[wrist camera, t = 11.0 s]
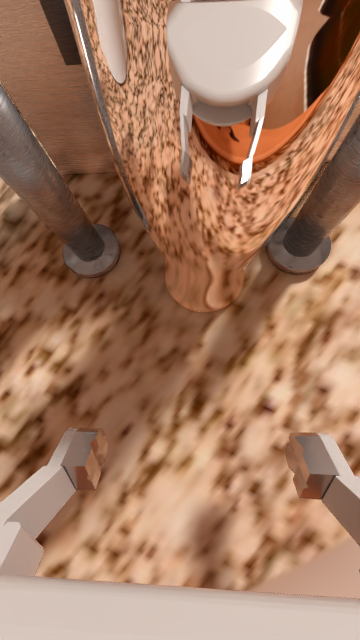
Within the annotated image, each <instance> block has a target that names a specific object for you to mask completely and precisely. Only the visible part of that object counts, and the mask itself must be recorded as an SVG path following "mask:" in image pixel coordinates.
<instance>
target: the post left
mask: <svg viewBox="0 0 360 640" xmlns="http://www.w3.org/2000/svg"><path fill="white" fill-rule="evenodd" d="M0 177H1V178H2V179H3V180H4V181H5V182H6V183H7V184H8V185H9V186H10V187H11V188H12V190H13V191H14V192H15V193H16V194H17V195H18V196H19V197H20V198H21V199H22V200H23V201H24V202H25V203H26V204H27V205H28V206H29V207H30V208H31V209H32V210H33V211H34V212H35V213H36V215H37V216H38V217H39V218H40V219H41V220H42V221H43V222H44V223H45V224H46V225H47V226H48V227H49V228H50V229H51V230H52V231H53V232H54V233H55V234H56V235H57V236H58V237H59V239H60V240H61V241H62V242H63V243H64V247H63V258H64V261H65V263H66V264H67V265H68V267H69V268H71V269H72V270H73V271H74V272H75V273H76V274H78V275H80V276H82V277H85V278H97V277H100V276H103V275H105V274H107V273H108V272H110V271H111V270H112V269H113V268H114V267H115V266H116V264H117V262H118V260H119V258H120V253H121V249H120V244H119V242H118V240H117V238H116V236H115V235H114V233H113V232H112V231H111V230H110V229H109V228H107V227H106V226H103V225H100V224H92V223H91V221H90V220H89V218H88V217H87V215H86V214H85V212H84V211H83V209H82V208H81V206H80V204H79V203H78V201H77V200H76V198H75V197H74V195H73V194H72V192H71V191H70V189H69V188H68V186H67V185H66V183H65V182H64V180H63V179H62V177H61V176H60V174H59V173H58V171H57V170H56V168H55V167H54V165H53V164H52V162H51V161H50V159H49V158H48V156H47V155H46V153H45V152H44V150H43V148H42V147H41V145H40V144H39V142H38V141H37V139H36V138H35V136H34V135H33V133H32V132H31V130H30V129H29V127H28V126H27V124H26V123H25V121H24V120H23V118H22V117H21V115H20V114H19V112H18V111H17V109H16V108H15V106H14V105H13V103H12V102H11V100H10V99H9V97H8V96H7V94H6V92H5V91H4V89H3V88H2V86H1V85H0Z"/></svg>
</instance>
